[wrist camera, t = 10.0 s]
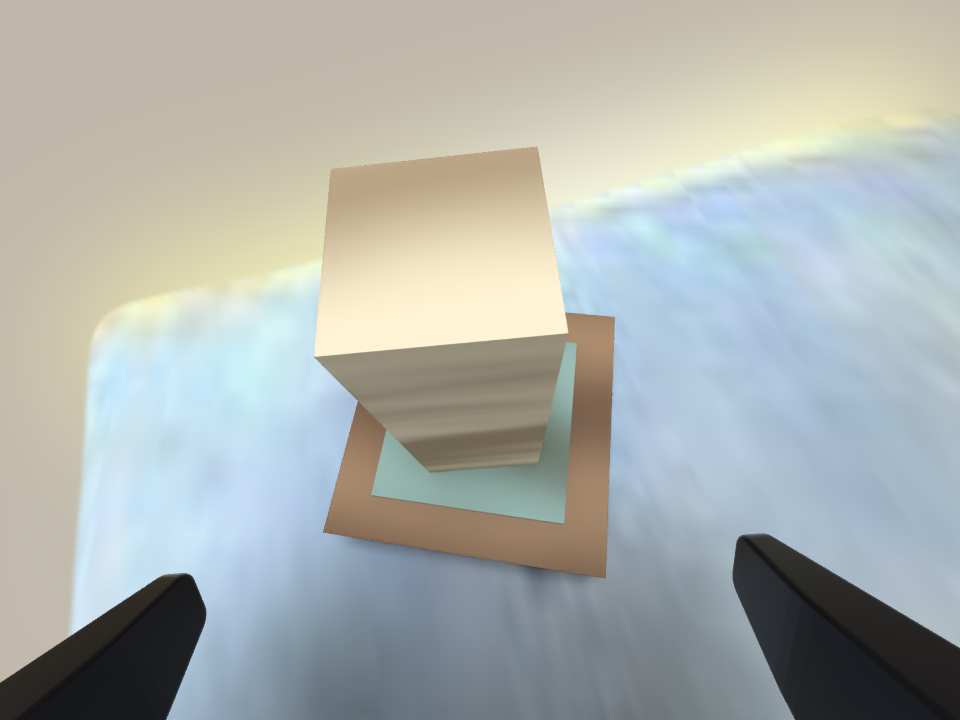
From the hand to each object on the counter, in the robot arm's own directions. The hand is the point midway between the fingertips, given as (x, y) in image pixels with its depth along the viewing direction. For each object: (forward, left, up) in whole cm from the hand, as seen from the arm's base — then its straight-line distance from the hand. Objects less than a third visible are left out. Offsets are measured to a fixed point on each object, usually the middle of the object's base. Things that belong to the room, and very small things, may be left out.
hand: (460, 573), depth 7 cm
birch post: (+5, +1, -9) cm, 10 cm away
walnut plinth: (+5, +1, -12) cm, 13 cm away
